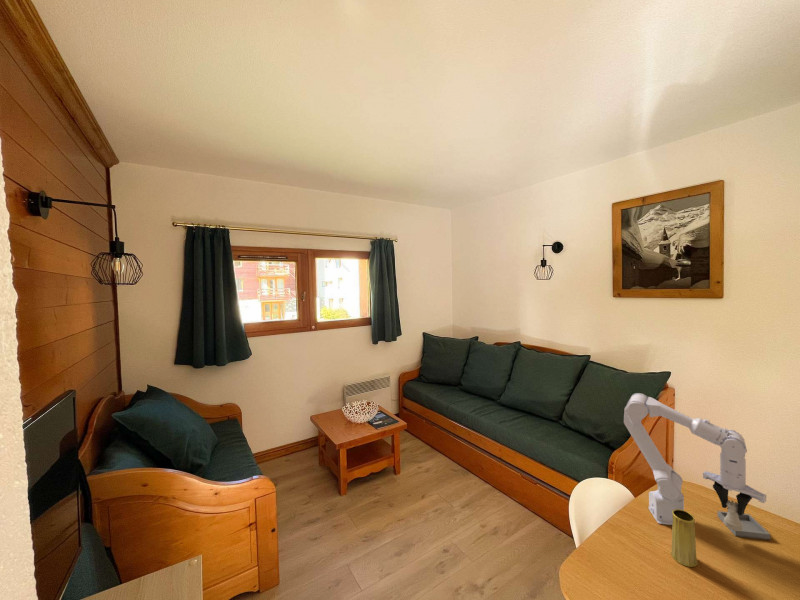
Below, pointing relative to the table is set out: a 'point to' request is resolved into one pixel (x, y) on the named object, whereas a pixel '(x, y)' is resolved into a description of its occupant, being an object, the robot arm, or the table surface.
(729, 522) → the rook chess piece
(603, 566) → the table surface
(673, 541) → the vase
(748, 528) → the tray
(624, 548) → the table surface
